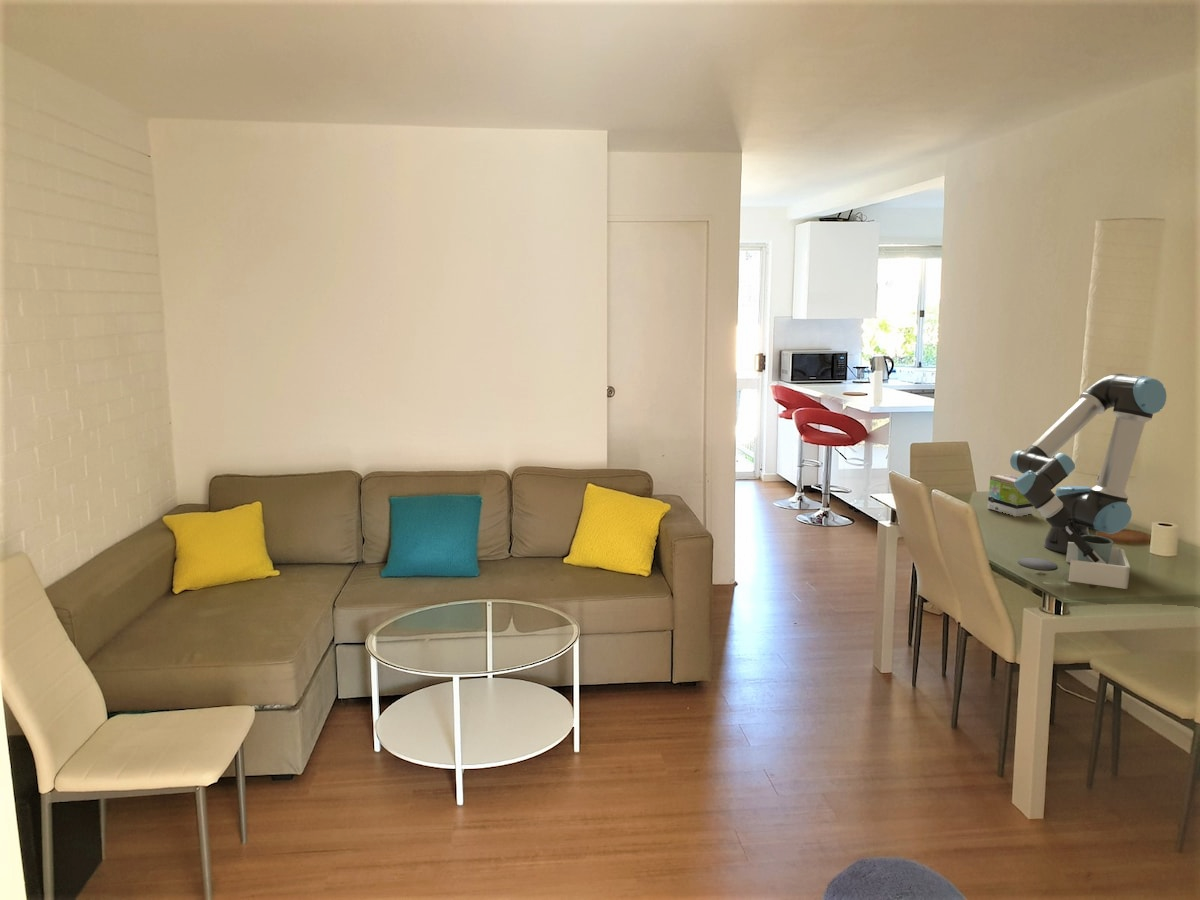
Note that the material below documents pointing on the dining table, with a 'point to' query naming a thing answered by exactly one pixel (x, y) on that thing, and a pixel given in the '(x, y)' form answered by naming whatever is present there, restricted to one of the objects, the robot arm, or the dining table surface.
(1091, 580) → the open-front crate
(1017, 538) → the dining table surface
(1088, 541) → the blue plant pot
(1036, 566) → the coaster
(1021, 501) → the tea box
